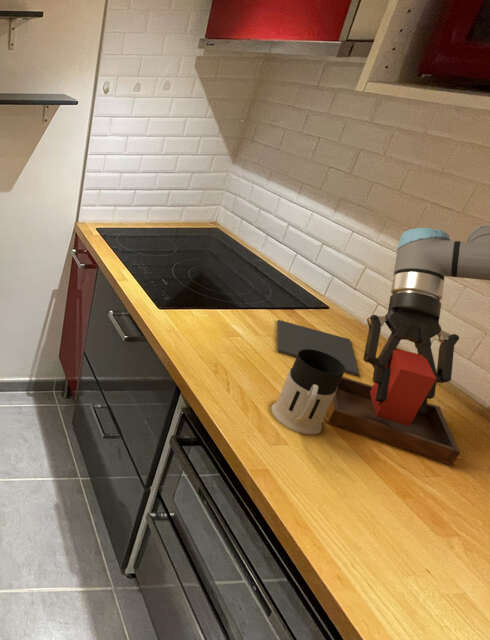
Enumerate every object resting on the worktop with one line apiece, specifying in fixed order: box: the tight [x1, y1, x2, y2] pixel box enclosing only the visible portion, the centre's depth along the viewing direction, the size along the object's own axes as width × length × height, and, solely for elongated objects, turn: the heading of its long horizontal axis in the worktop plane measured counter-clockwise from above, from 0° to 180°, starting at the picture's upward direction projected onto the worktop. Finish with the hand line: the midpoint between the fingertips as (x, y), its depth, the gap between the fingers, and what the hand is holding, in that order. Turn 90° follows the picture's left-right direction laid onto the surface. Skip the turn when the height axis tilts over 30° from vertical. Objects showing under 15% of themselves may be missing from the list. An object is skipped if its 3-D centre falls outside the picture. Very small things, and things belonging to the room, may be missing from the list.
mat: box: [276, 319, 359, 377], centre depth 116 cm, size 16×16×1 cm
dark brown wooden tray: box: [326, 376, 461, 467], centre depth 93 cm, size 19×14×4 cm
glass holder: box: [270, 349, 346, 435], centre depth 89 cm, size 9×14×15 cm, turn 140°
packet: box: [370, 347, 436, 426], centre depth 89 cm, size 5×8×12 cm, turn 147°
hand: (399, 406), depth 87 cm, fingers closed on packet, 5 cm apart
